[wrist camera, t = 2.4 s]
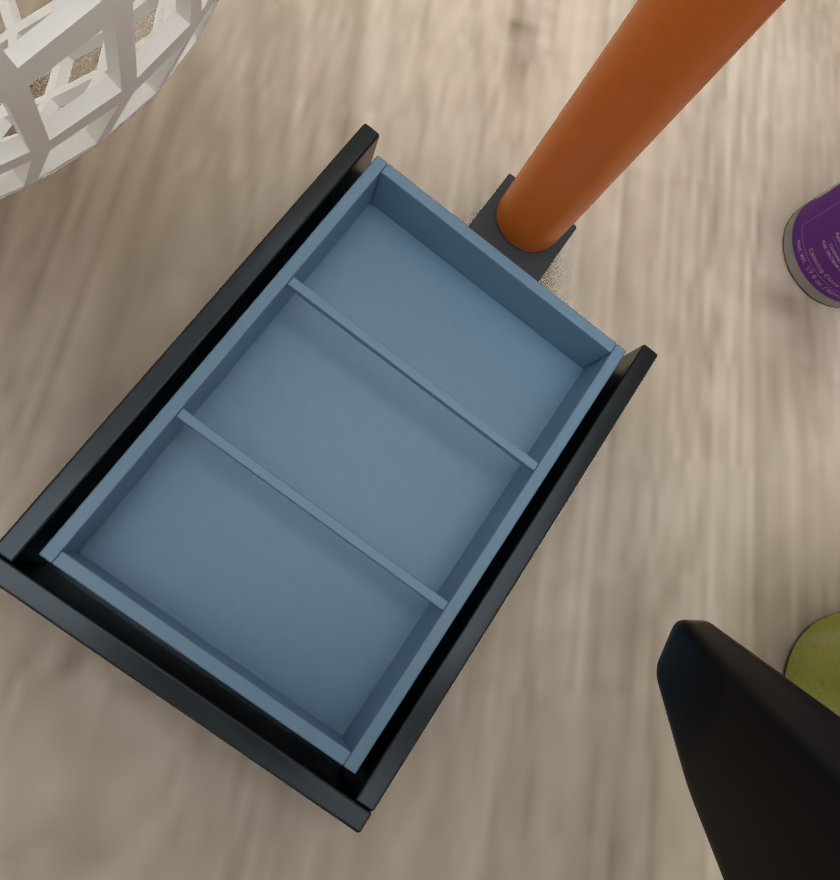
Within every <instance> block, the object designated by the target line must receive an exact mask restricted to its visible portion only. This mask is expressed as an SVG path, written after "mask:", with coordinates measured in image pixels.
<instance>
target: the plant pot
mask: <svg viewBox="0 0 840 880" xmlns="http://www.w3.org/2000/svg"><path fill="white" fill-rule="evenodd" d="M785 677H786V678H787V679H789V680H790V681H792V682H793V683H794V684H796V685H797V686H799V687H800V688H801V689H803V690H804V691H805V692H807V693H808V694H810V695H811V696H812V697H814V698H815V699H817V700H818V701H819V702H821V703H822V704H823V705H825V706H826V707H828V708H829V709H830V710H832V711H833V712H835V713H836V714H837V715H839V716H840V612H839V613H836V614H833V615H830V616H827V617H825V618H822V619H820V620H818V621H817V622H815V623H814V624H812V625H811V626H810V627H809V628H808V629H807V630H806V631H805V632H804V633H803V634H802V635H801V637H800V638H799V639H798V641H797V642H796V644H795V646H794V648H793V650H792V653H791V655H790V657H789V660H788V664H787V668H786V672H785Z"/></svg>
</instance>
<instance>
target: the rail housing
mask: <svg viewBox="0 0 840 880" xmlns="http://www.w3.org/2000/svg"><path fill="white" fill-rule="evenodd" d="M378 138H379V134H378V133H377V132H376V131H374V130H373V129H372V128H371V127H369V126H368V125H367V124H364V125H363V126H362V127H361V128H360V129H359V130H358V131H357V133H356V134H355V135H354V136H353V137H352V138H351V139H350V141H349V142H348V143H347V144H346V145H345V146H344V147H343V149H342V150H341V151H340V152H339V153H338V154H337V155H336V157H335V158H334V159H333V160H332V161H331V162H330V163H329V165H328V166H327V167H326V168H325V169H324V170H323V171H322V173H321V174H320V175H319V176H318V177H317V178H316V179H315V181H314V182H313V183H312V184H311V185H310V186H309V187H308V189H307V190H306V191H305V192H304V193H303V194H302V195H301V197H300V198H299V199H298V200H297V201H296V202H295V203H294V205H293V206H292V207H291V208H290V209H289V210H288V211H287V213H286V214H285V215H284V216H283V217H282V218H281V219H280V221H279V222H278V223H277V224H276V225H275V226H274V227H273V229H272V230H271V231H270V232H269V233H268V234H267V236H266V237H265V238H264V239H263V240H262V241H261V242H260V244H259V245H258V246H257V247H256V248H255V249H254V250H253V252H252V253H251V254H250V255H249V256H248V257H247V258H246V260H245V261H244V262H243V263H242V264H241V265H240V266H239V268H238V269H237V270H236V271H235V272H234V273H233V274H232V276H231V277H230V278H229V279H228V280H227V281H226V282H225V284H224V285H223V286H222V287H221V288H220V289H219V290H218V292H217V293H216V294H215V295H214V296H213V297H212V298H211V300H210V301H209V302H208V303H207V304H206V305H205V306H204V308H203V309H202V310H201V311H200V312H199V313H198V314H197V316H196V317H195V318H194V319H193V320H192V321H191V322H190V324H189V325H188V326H187V327H186V328H185V329H184V330H183V332H182V333H181V334H180V335H179V336H178V337H177V338H176V340H175V341H174V342H173V343H172V344H171V345H170V346H169V348H168V349H167V350H166V351H165V352H164V353H163V354H162V356H161V357H160V358H159V359H158V360H157V361H156V362H155V364H154V365H153V366H152V367H151V368H150V369H149V370H148V372H147V373H146V374H145V375H144V376H143V377H142V378H141V380H140V381H139V382H138V383H137V384H136V385H135V387H134V388H133V389H132V390H131V391H130V392H129V393H128V395H127V396H126V397H125V398H124V399H123V400H122V401H121V403H120V404H119V405H118V406H117V407H116V408H115V409H114V411H113V412H112V413H111V414H110V415H109V416H108V417H107V419H106V420H105V421H104V422H103V423H102V424H101V425H100V427H99V428H98V429H97V430H96V431H95V432H94V433H93V435H92V436H91V437H90V438H89V439H88V440H87V441H86V443H85V444H84V445H83V446H82V447H81V448H80V449H79V451H78V452H77V453H76V454H75V455H74V456H73V457H72V459H71V460H70V461H69V462H68V463H67V464H66V465H65V467H64V468H63V469H62V470H61V471H60V472H59V473H58V475H57V476H56V477H55V478H54V479H53V480H52V481H51V483H50V484H49V485H48V486H47V487H46V488H45V489H44V491H43V492H42V493H41V494H40V495H39V496H38V497H37V499H36V500H35V501H34V502H33V503H32V504H31V505H30V507H29V508H28V509H27V510H26V511H25V512H24V513H23V515H22V516H21V517H20V518H19V519H18V520H17V521H16V523H15V524H14V525H13V526H12V527H11V528H10V529H9V531H8V532H7V533H6V534H5V535H4V536H3V537H2V539H1V540H0V588H2V589H3V590H5V591H6V592H7V593H9V594H10V595H12V596H13V597H15V598H16V599H18V600H19V601H21V602H22V603H24V604H25V605H26V606H28V607H29V608H31V609H32V610H34V611H35V612H37V613H38V614H40V615H41V616H42V617H44V618H45V619H47V620H48V621H50V622H51V623H53V624H54V625H56V626H57V627H58V628H60V629H61V630H63V631H64V632H66V633H67V634H69V635H70V636H72V637H73V638H75V639H76V640H77V641H79V642H80V643H82V644H83V645H85V646H86V647H88V648H89V649H91V650H92V651H93V652H95V653H96V654H98V655H99V656H101V657H102V658H104V659H105V660H107V661H108V662H109V663H111V664H112V665H114V666H115V667H117V668H118V669H120V670H121V671H123V672H124V673H125V674H127V675H128V676H130V677H131V678H133V679H134V680H136V681H137V682H139V683H140V684H142V685H143V686H144V687H146V688H147V689H149V690H150V691H152V692H153V693H155V694H156V695H158V696H159V697H160V698H162V699H163V700H165V701H166V702H168V703H169V704H171V705H172V706H174V707H175V708H176V709H178V710H179V711H181V712H182V713H184V714H185V715H187V716H188V717H190V718H191V719H192V720H194V721H195V722H197V723H198V724H200V725H201V726H203V727H204V728H206V729H207V730H209V731H210V732H211V733H213V734H214V735H216V736H217V737H219V738H220V739H222V740H223V741H225V742H226V743H227V744H229V745H230V746H232V747H233V748H235V749H236V750H238V751H239V752H241V753H242V754H243V755H245V756H246V757H248V758H249V759H251V760H252V761H254V762H255V763H257V764H258V765H260V766H261V767H262V768H264V769H265V770H267V771H268V772H270V773H271V774H273V775H274V776H276V777H277V778H278V779H280V780H281V781H283V782H284V783H286V784H287V785H289V786H290V787H292V788H293V789H294V790H296V791H297V792H299V793H300V794H302V795H303V796H305V797H306V798H308V799H309V800H310V801H312V802H313V803H315V804H316V805H318V806H319V807H321V808H322V809H324V810H325V811H327V812H328V813H329V814H331V815H332V816H334V817H335V818H337V819H338V820H340V821H341V822H343V823H344V824H345V825H347V826H348V827H350V828H351V829H353V830H354V831H356V832H358V833H359V832H360V831H361V830H362V828H363V827H364V825H365V824H366V822H367V820H368V819H369V817H370V815H371V812H370V811H373V810H374V809H375V807H376V806H377V804H378V803H379V801H380V799H381V798H382V796H383V795H384V793H385V791H386V790H387V788H388V787H389V785H390V783H391V782H392V780H393V779H394V777H395V775H396V774H397V772H398V771H399V769H400V767H401V766H402V764H403V763H404V761H405V759H406V758H407V756H408V755H409V753H410V751H411V750H412V748H413V747H414V745H415V743H416V742H417V740H418V739H419V737H420V735H421V734H422V732H423V731H424V729H425V727H426V726H427V724H428V723H429V721H430V719H431V718H432V716H433V715H434V713H435V711H436V710H437V708H438V707H439V705H440V703H441V702H442V700H443V699H444V697H445V695H446V694H447V692H448V691H449V689H450V687H451V686H452V684H453V683H454V681H455V679H456V678H457V676H458V675H459V673H460V671H461V670H462V668H463V667H464V665H465V663H466V662H467V660H468V659H469V657H470V655H471V654H472V652H473V651H474V649H475V647H476V646H477V644H478V643H479V641H480V639H481V638H482V636H483V634H484V633H485V631H486V630H487V628H488V626H489V625H490V623H491V622H492V620H493V618H494V617H495V615H496V614H497V612H498V610H499V609H500V607H501V606H502V604H503V602H504V601H505V599H506V598H507V596H508V594H509V593H510V591H511V590H512V588H513V586H514V585H515V583H516V582H517V580H518V578H519V577H520V575H521V574H522V572H523V570H524V569H525V567H526V566H527V564H528V562H529V561H530V559H531V558H532V556H533V554H534V553H535V551H536V550H537V548H538V546H539V545H540V543H541V542H542V540H543V538H544V537H545V535H546V534H547V532H548V530H549V529H550V527H551V526H552V524H553V522H554V521H555V519H556V518H557V516H558V514H559V513H560V511H561V510H562V508H563V506H564V505H565V503H566V502H567V500H568V498H569V497H570V495H571V494H572V492H573V490H574V489H575V487H576V486H577V484H578V482H579V481H580V479H581V478H582V476H583V474H584V473H585V471H586V470H587V468H588V466H589V465H590V463H591V462H592V460H593V458H594V457H595V455H596V453H597V452H598V450H599V449H600V447H601V445H602V444H603V442H604V441H605V439H606V437H607V436H608V434H609V433H610V431H611V429H612V428H613V426H614V425H615V423H616V421H617V420H618V418H619V417H620V415H621V413H622V412H623V410H624V409H625V407H626V405H627V404H628V402H629V401H630V399H631V397H632V396H633V394H634V393H635V391H636V389H637V388H638V386H639V385H640V383H641V381H642V380H643V378H644V377H645V375H646V373H647V372H648V370H649V369H650V367H651V365H652V364H653V362H654V361H655V359H656V357H657V354H656V353H655V352H654V351H652V350H651V349H650V348H649V347H647V346H646V345H643V346H641V347H639V348H637V349H636V350H634V351H632V352H630V353H628V354H627V355H625V356H623V357H622V359H621V360H620V362H619V363H618V365H617V367H616V368H615V370H614V371H613V373H612V374H611V376H610V377H609V379H608V381H607V382H606V384H605V385H604V387H603V388H602V390H601V391H600V393H599V395H598V396H597V398H596V399H595V401H594V402H593V404H592V405H591V407H590V409H589V410H588V412H587V413H586V415H585V416H584V418H583V420H582V421H581V423H580V424H579V426H578V427H577V429H576V430H575V432H574V434H573V435H572V437H571V438H570V440H569V441H568V443H567V444H566V446H565V448H564V449H563V451H562V452H561V454H560V455H559V457H558V458H557V460H556V462H555V463H554V465H553V466H552V468H551V469H550V471H549V473H548V474H547V476H546V477H545V479H544V480H543V482H542V483H541V485H540V487H539V488H538V490H537V491H536V493H535V494H534V496H533V497H532V499H531V501H530V502H529V504H528V505H527V507H526V508H525V510H524V512H523V513H522V515H521V516H520V518H519V519H518V521H517V522H516V524H515V526H514V527H513V529H512V530H511V532H510V533H509V535H508V536H507V538H506V540H505V541H504V543H503V544H502V546H501V547H500V549H499V550H498V552H497V554H496V555H495V557H494V558H493V560H492V561H491V563H490V565H489V566H488V568H487V569H486V571H485V572H484V574H483V575H482V577H481V579H480V580H479V582H478V583H477V585H476V586H475V588H474V589H473V591H472V593H471V594H470V596H469V597H468V599H467V600H466V602H465V603H464V605H463V607H462V608H461V610H460V611H459V613H458V614H457V616H456V618H455V619H454V621H453V622H452V624H451V625H450V627H449V628H448V630H447V632H446V633H445V635H444V636H443V638H442V639H441V641H440V642H439V644H438V646H437V647H436V649H435V650H434V652H433V653H432V655H431V656H430V658H429V660H428V661H427V663H426V664H425V666H424V667H423V669H422V671H421V672H420V674H419V675H418V677H417V678H416V680H415V681H414V683H413V685H412V686H411V688H410V689H409V691H408V692H407V694H406V695H405V697H404V699H403V700H402V702H401V703H400V705H399V706H398V708H397V709H396V711H395V713H394V714H393V716H392V717H391V719H390V720H389V722H388V724H387V725H386V727H385V728H384V730H383V731H382V733H381V734H380V736H379V738H378V739H377V741H376V742H375V744H374V745H373V747H372V748H371V750H370V752H369V753H368V755H367V756H366V758H365V759H364V761H363V762H362V764H361V766H360V767H359V769H358V770H357V772H356V773H352V772H351V771H349V770H348V769H347V768H345V767H344V766H343V765H341V764H339V763H338V762H337V761H335V760H334V759H332V758H331V757H329V756H328V755H326V754H325V753H324V752H322V751H321V750H319V749H318V748H316V747H315V746H314V745H312V744H311V743H309V742H308V741H306V740H305V739H303V738H302V737H301V736H299V735H298V734H296V733H295V732H293V731H292V730H290V729H289V728H288V727H286V726H285V725H283V724H282V723H280V722H279V721H278V720H276V719H275V718H273V717H272V716H270V715H269V714H267V713H266V712H265V711H263V710H262V709H260V708H259V707H257V706H256V705H254V704H253V703H252V702H250V701H249V700H247V699H246V698H244V697H243V696H242V695H240V694H239V693H237V692H236V691H234V690H233V689H231V688H230V687H229V686H227V685H226V684H224V683H223V682H221V681H220V680H219V679H217V678H216V677H214V676H213V675H211V674H210V673H208V672H207V671H206V670H204V669H203V668H201V667H200V666H198V665H197V664H195V663H194V662H193V661H191V660H190V659H188V658H187V657H185V656H184V655H183V654H181V653H180V652H178V651H177V650H175V649H174V648H172V647H171V646H170V645H168V644H167V643H165V642H164V641H162V640H161V639H160V638H158V637H157V636H155V635H154V634H152V633H151V632H149V631H148V630H147V629H145V628H144V627H142V626H141V625H139V624H138V623H136V622H135V621H134V620H132V619H131V618H129V617H128V616H126V615H125V614H124V613H122V612H121V611H119V610H118V609H116V608H115V607H113V606H112V605H111V604H109V603H108V602H106V601H105V600H103V599H102V598H100V597H99V596H98V595H96V594H95V593H93V592H92V591H90V590H89V589H88V588H86V587H85V586H83V585H82V584H80V583H79V582H77V581H76V580H75V579H73V578H72V577H70V576H69V575H67V574H66V573H65V572H63V571H62V570H60V569H59V568H57V567H56V566H54V565H53V563H50V562H49V561H47V560H46V559H44V558H43V557H41V556H40V555H39V554H40V552H41V551H42V550H43V548H44V547H45V546H46V545H47V544H48V542H49V541H50V540H51V539H52V538H53V537H54V535H55V534H56V533H57V532H58V531H59V530H60V528H61V527H62V526H63V525H64V524H65V522H66V521H67V520H68V519H69V518H70V517H71V515H72V514H73V513H74V512H75V511H76V510H77V508H78V507H79V506H80V505H81V504H82V502H83V501H84V500H85V499H86V498H87V497H88V495H89V494H90V493H91V492H92V491H93V490H94V488H95V487H96V486H97V485H98V484H99V483H100V481H101V480H102V479H103V478H104V477H105V475H106V474H107V473H108V472H109V471H110V470H111V468H112V467H113V466H114V465H115V464H116V463H117V461H118V460H119V459H120V458H121V457H122V455H123V454H124V453H125V452H126V451H127V450H128V448H129V447H130V446H131V445H132V444H133V443H134V441H135V440H136V439H137V438H138V437H139V436H140V434H141V433H142V432H143V431H144V430H145V428H146V427H147V426H148V425H149V424H150V423H151V421H152V420H153V419H154V418H155V417H156V416H157V414H158V413H159V412H160V411H161V410H162V408H163V407H164V406H165V405H166V404H167V403H168V401H169V400H170V399H171V398H172V397H173V396H174V394H175V393H176V392H177V391H178V390H179V389H180V387H181V386H182V385H183V384H184V383H185V381H186V380H187V379H188V378H189V377H190V376H191V374H192V373H193V372H194V371H195V370H196V369H197V367H198V366H199V365H200V364H201V363H202V361H203V360H204V359H205V358H206V357H207V356H208V354H209V353H210V352H211V351H212V350H213V349H214V347H215V346H216V345H217V344H218V343H219V342H220V340H221V339H222V338H223V337H224V336H225V334H226V333H227V332H228V331H229V330H230V329H231V327H232V326H233V325H234V324H235V323H236V322H237V320H238V319H239V318H240V317H241V316H242V314H243V313H244V312H245V311H246V310H247V309H248V307H249V306H250V305H251V304H252V303H253V302H254V300H255V299H256V298H257V297H258V296H259V295H260V293H261V292H262V291H263V290H264V289H265V287H266V286H267V285H268V284H269V283H270V282H271V280H272V279H273V278H274V277H275V276H276V275H277V273H278V272H279V271H280V270H281V269H282V267H283V266H284V265H285V264H286V263H287V262H288V260H289V259H290V258H291V257H292V256H293V255H294V253H295V252H296V251H297V250H298V249H299V248H300V246H301V245H302V244H303V243H304V242H305V240H306V239H307V238H308V237H309V236H310V235H311V233H312V232H313V231H314V230H315V229H316V228H317V226H318V225H319V224H320V223H321V222H322V220H323V219H324V218H325V217H326V216H327V215H328V213H329V212H330V211H331V210H332V209H333V208H334V206H335V205H336V204H337V203H338V202H339V201H340V199H341V198H342V197H343V196H344V195H345V193H346V192H347V191H348V190H349V189H350V188H351V186H352V185H353V184H354V183H355V182H356V181H357V179H358V178H359V177H360V176H361V175H362V173H363V172H364V171H365V170H366V169H367V168H368V166H369V165H370V164H371V161H372V158H373V154H374V151H375V148H376V145H377V141H378Z"/></svg>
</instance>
